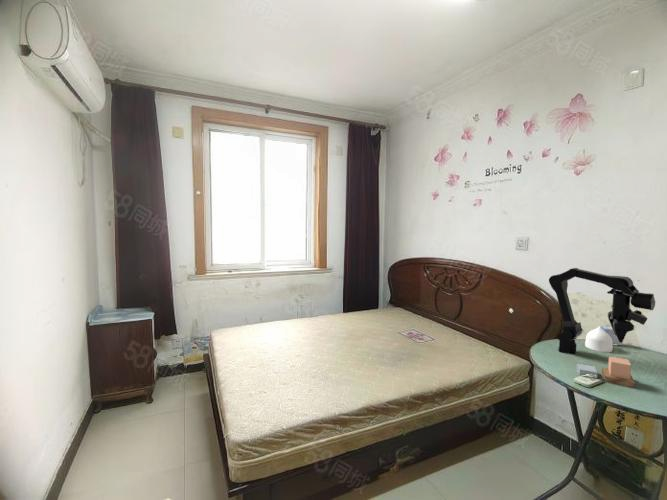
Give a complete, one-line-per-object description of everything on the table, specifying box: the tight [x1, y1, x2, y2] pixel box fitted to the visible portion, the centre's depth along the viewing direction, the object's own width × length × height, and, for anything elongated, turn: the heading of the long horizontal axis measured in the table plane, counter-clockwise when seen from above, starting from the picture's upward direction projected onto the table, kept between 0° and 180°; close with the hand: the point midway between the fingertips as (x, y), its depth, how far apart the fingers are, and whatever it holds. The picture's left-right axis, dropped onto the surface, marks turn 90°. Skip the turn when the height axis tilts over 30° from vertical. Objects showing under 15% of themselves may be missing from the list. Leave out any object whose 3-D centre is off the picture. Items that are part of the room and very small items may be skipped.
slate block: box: [576, 363, 599, 377], centre depth 135 cm, size 6×6×3 cm
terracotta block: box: [607, 356, 632, 380], centre depth 129 cm, size 6×6×6 cm
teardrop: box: [584, 325, 614, 353], centre depth 161 cm, size 11×11×12 cm
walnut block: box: [601, 366, 636, 389], centre depth 130 cm, size 9×9×3 cm
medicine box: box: [601, 326, 623, 346], centre depth 166 cm, size 8×4×9 cm, turn 71°
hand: (618, 338), depth 140 cm, fingers open, 9 cm apart
